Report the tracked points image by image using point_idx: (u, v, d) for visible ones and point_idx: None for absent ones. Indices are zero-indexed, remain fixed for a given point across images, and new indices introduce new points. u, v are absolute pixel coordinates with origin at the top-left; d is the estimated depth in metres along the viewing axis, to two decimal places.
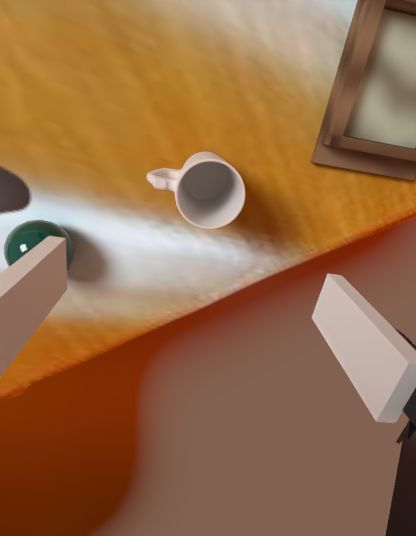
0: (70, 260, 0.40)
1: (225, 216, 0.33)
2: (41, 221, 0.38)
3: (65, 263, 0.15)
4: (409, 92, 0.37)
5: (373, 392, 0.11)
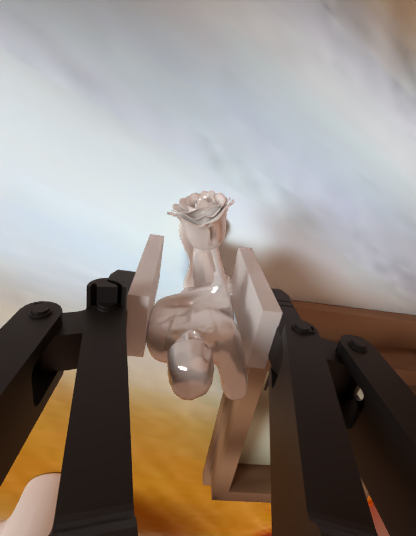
0: None
1: None
2: None
3: (160, 258, 0.17)
4: None
5: (247, 342, 0.13)
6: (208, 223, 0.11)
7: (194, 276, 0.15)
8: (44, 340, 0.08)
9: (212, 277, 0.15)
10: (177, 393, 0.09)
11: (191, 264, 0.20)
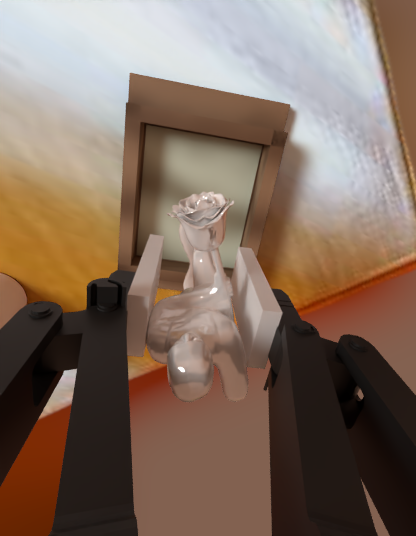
0: None
1: None
2: None
3: (160, 258, 0.17)
4: None
5: (247, 342, 0.13)
6: (208, 224, 0.11)
7: (194, 277, 0.15)
8: (44, 340, 0.08)
9: (212, 278, 0.15)
10: (177, 395, 0.09)
11: (191, 265, 0.20)
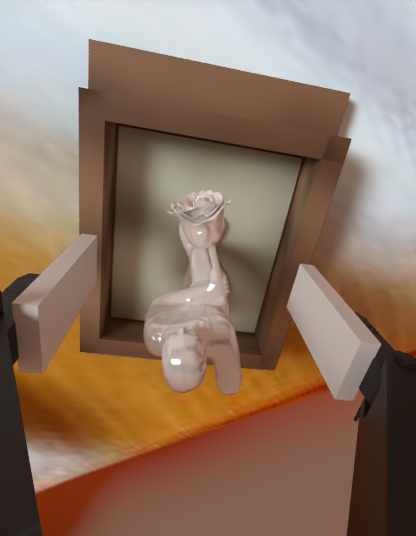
0: None
1: None
2: None
3: (95, 259, 0.16)
4: (223, 256, 0.21)
5: (333, 372, 0.12)
6: (205, 222, 0.11)
7: (192, 274, 0.16)
8: None
9: (210, 275, 0.15)
10: (170, 386, 0.09)
11: (190, 262, 0.20)
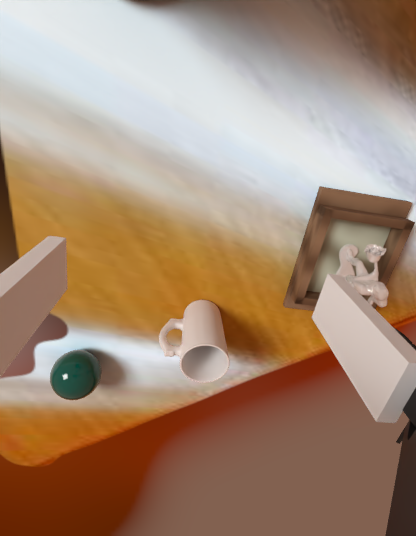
0: (99, 381, 0.52)
1: (216, 368, 0.45)
2: (77, 355, 0.51)
3: (65, 263, 0.15)
4: None
5: (373, 392, 0.11)
6: (379, 255, 0.40)
7: (358, 270, 0.44)
8: None
9: (365, 271, 0.44)
10: (380, 298, 0.38)
11: (341, 266, 0.48)
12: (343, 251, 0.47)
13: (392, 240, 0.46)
